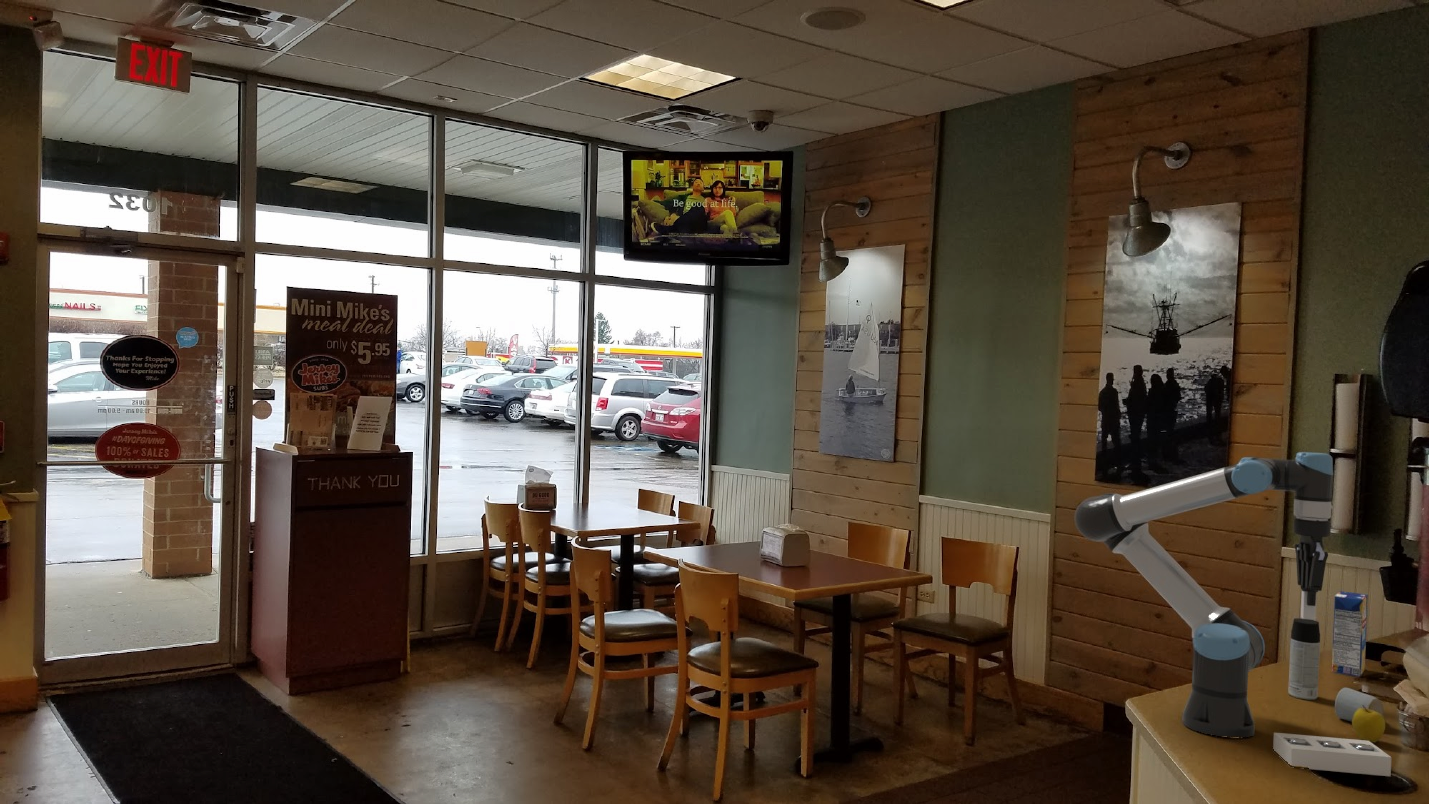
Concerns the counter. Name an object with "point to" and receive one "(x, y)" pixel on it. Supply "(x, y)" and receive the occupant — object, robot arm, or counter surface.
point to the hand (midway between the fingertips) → (1308, 618)
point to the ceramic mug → (1355, 703)
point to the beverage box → (1349, 633)
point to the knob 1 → (1297, 741)
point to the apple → (1368, 724)
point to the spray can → (1304, 659)
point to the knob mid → (1330, 744)
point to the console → (1332, 755)
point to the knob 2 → (1363, 747)
